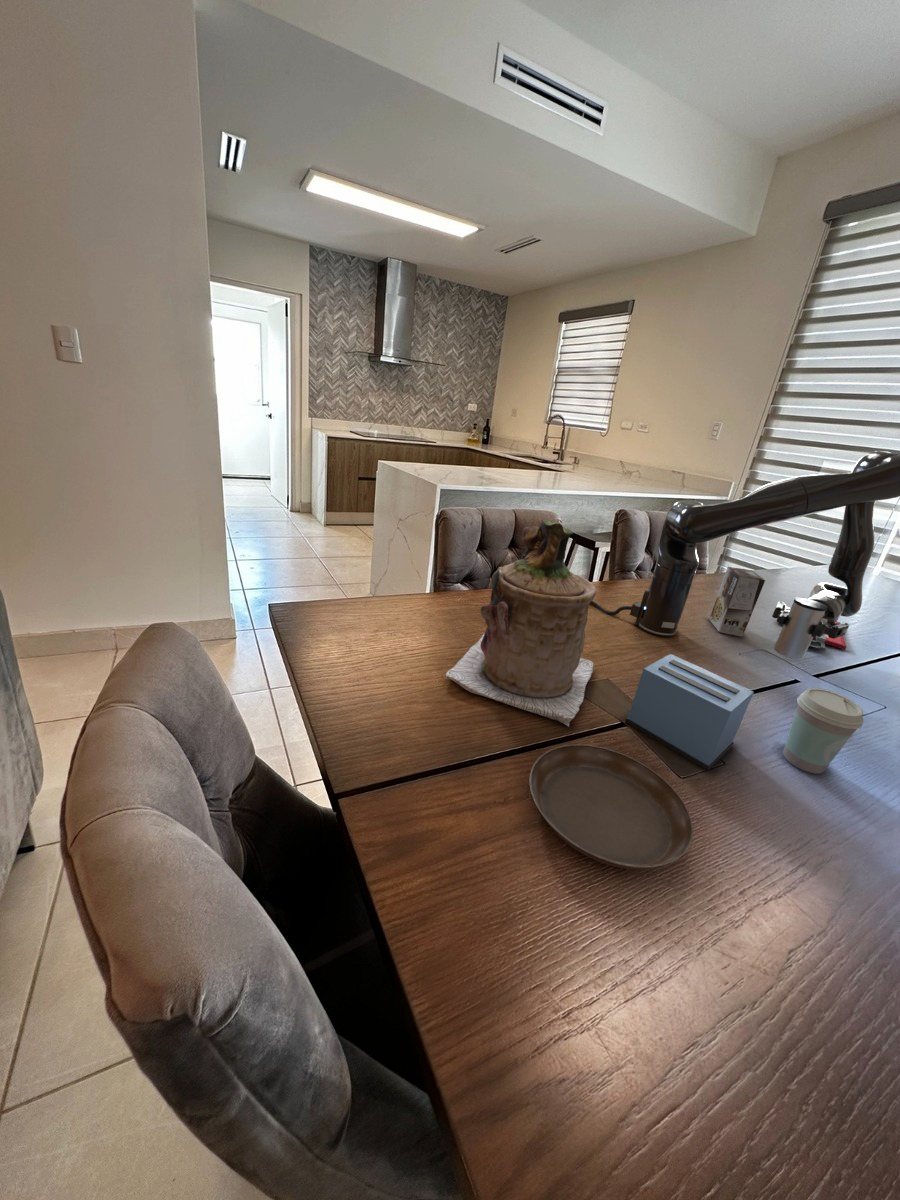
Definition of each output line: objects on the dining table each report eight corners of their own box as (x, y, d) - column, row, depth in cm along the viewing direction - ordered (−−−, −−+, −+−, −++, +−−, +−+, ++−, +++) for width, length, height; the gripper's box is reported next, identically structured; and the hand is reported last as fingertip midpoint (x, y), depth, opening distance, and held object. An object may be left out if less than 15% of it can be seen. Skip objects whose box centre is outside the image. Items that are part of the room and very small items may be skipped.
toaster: (624, 721, 83) (641, 667, 79) (655, 701, 90) (672, 650, 86) (707, 771, 73) (732, 712, 69) (734, 744, 81) (758, 689, 76)
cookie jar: (595, 669, 99) (635, 520, 87) (572, 732, 78) (620, 549, 66) (486, 635, 108) (509, 496, 96) (439, 684, 87) (461, 514, 75)
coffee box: (743, 637, 124) (766, 580, 118) (718, 632, 125) (739, 575, 119) (732, 623, 133) (752, 569, 126) (708, 619, 133) (727, 565, 127)
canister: (769, 650, 103) (791, 600, 98) (777, 644, 107) (798, 595, 102) (799, 662, 99) (823, 610, 95) (807, 655, 103) (830, 605, 98)
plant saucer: (522, 749, 73) (526, 732, 72) (657, 771, 72) (663, 754, 71) (529, 869, 54) (534, 849, 53) (712, 902, 53) (722, 881, 52)
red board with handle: (777, 639, 125) (846, 661, 117) (782, 629, 124) (851, 651, 116) (779, 609, 148) (837, 626, 141) (783, 601, 147) (841, 618, 140)
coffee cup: (817, 786, 73) (851, 723, 68) (763, 750, 80) (790, 691, 75) (844, 772, 77) (878, 711, 72) (790, 739, 84) (818, 682, 79)
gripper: (789, 586, 113) (767, 598, 102) (863, 608, 103) (847, 624, 92) (777, 614, 116) (754, 628, 105) (848, 638, 106) (831, 657, 95)
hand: (798, 626), depth 99 cm, fingers closed on canister, 5 cm apart
